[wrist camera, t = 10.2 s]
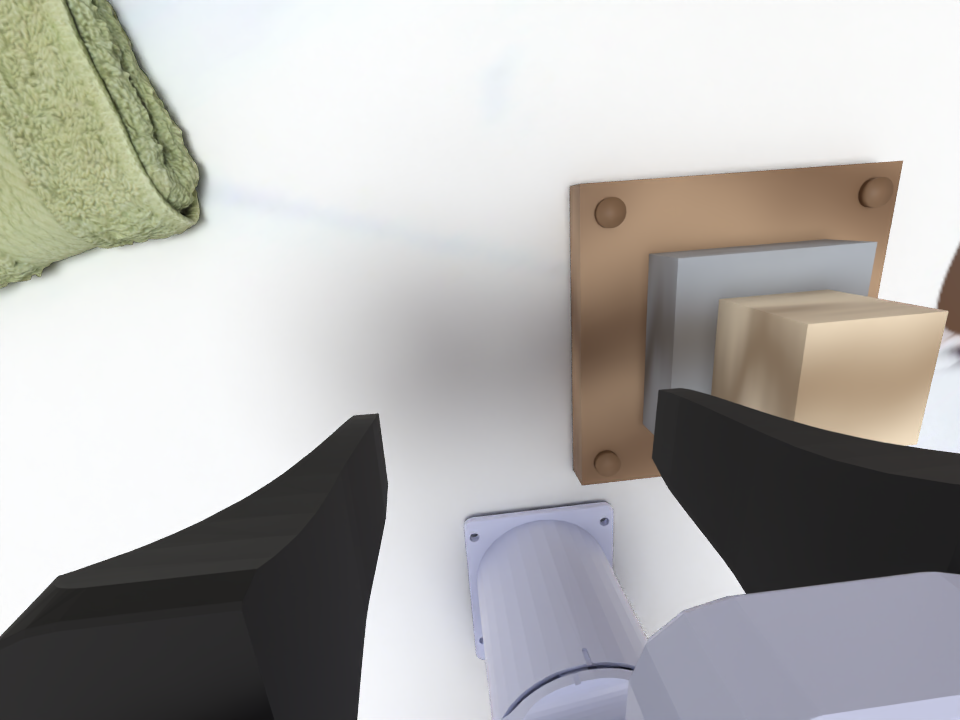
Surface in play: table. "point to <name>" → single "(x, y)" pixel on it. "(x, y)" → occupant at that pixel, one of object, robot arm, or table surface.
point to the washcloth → (82, 140)
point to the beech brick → (830, 360)
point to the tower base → (685, 225)
